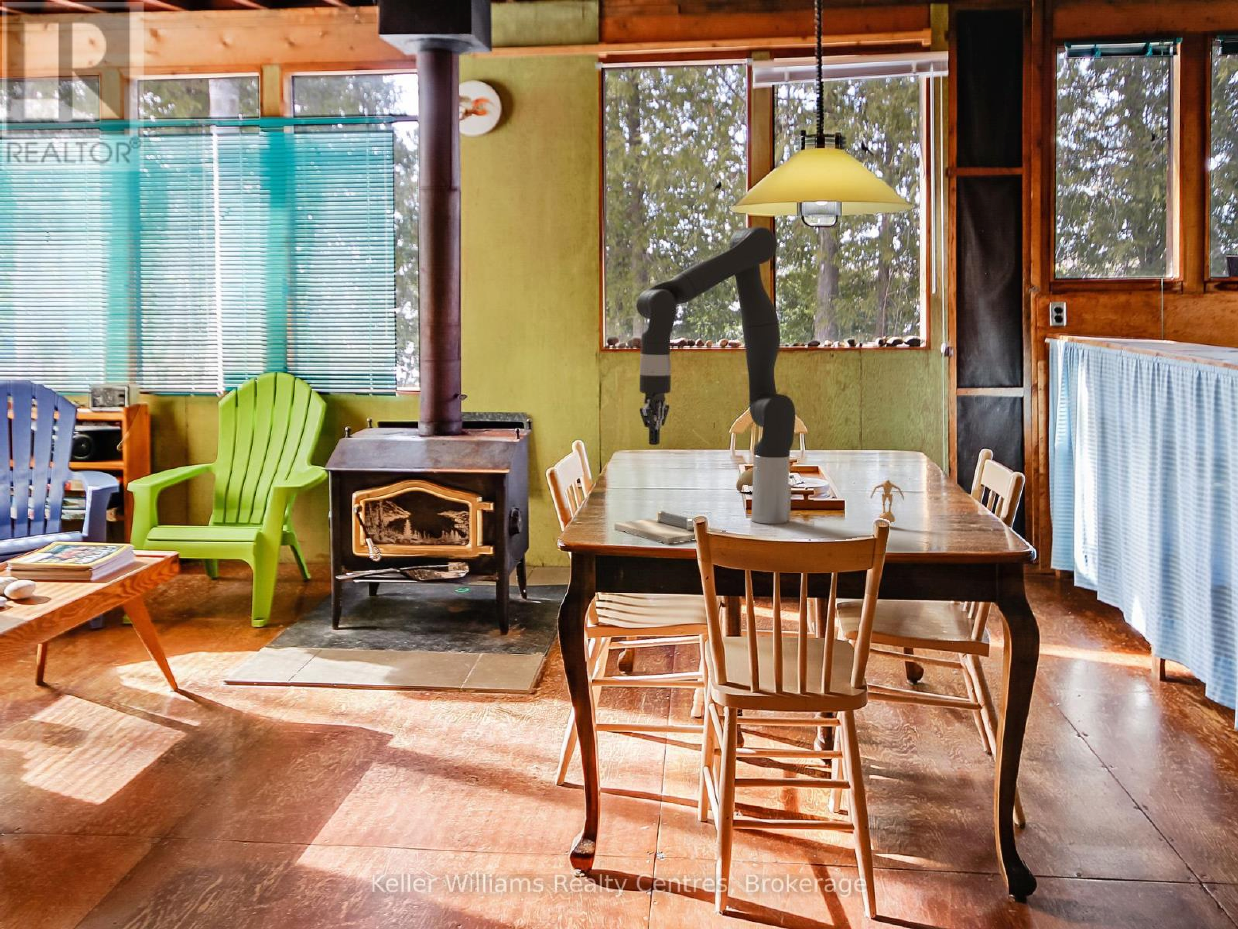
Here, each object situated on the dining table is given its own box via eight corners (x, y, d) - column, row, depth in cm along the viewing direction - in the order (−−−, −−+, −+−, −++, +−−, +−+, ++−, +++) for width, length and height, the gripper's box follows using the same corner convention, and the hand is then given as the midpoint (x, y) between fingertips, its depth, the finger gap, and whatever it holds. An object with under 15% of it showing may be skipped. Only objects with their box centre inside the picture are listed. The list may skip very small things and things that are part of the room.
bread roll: (788, 495, 330) (789, 469, 329) (738, 495, 330) (739, 468, 329) (782, 490, 340) (783, 464, 339) (734, 490, 339) (734, 464, 338)
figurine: (870, 527, 282) (872, 481, 281) (868, 523, 288) (870, 477, 287) (903, 529, 281) (906, 482, 280) (901, 524, 287) (903, 479, 285)
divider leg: (702, 529, 267) (702, 519, 267) (692, 530, 265) (692, 521, 265) (663, 519, 278) (664, 510, 278) (654, 521, 277) (654, 511, 276)
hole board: (671, 522, 285) (671, 516, 285) (725, 536, 269) (726, 529, 268) (614, 529, 275) (614, 522, 275) (667, 544, 258) (667, 537, 258)
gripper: (658, 375, 260) (657, 448, 263) (680, 372, 272) (679, 442, 275) (629, 374, 264) (628, 446, 266) (652, 371, 275) (651, 440, 278)
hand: (654, 444), depth 270 cm, fingers closed
